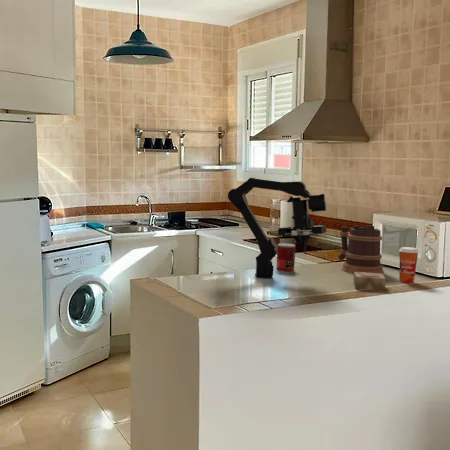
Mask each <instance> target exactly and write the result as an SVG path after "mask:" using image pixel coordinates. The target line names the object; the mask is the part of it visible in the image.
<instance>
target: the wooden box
mask: <svg viewBox="0 0 450 450" xmlns="http://www.w3.org/2000/svg"><path fill="white" fill-rule="evenodd" d="M352 282H353V283H352V284H353V287H354V289H356V290H366V289H372V290H371V291H383V292H385V291H386V282H387V280H386V277H385V275H384V273H383V274H379V273H365V272H354V273H353V281H352Z"/></svg>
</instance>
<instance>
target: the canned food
mask: <svg viewBox="0 0 450 450" xmlns="http://www.w3.org/2000/svg"><path fill="white" fill-rule="evenodd" d="M277 245H278V246H277V248H278V252H277V255H276V267H275V268H276V270H277V271H281V270H284V271H283V272H292V270H293V271H294V269H295V263H296V261H295V260H296V245H295V244H294V243H284V242H283V243H278V244H277Z"/></svg>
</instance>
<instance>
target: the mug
mask: <svg viewBox="0 0 450 450" xmlns="http://www.w3.org/2000/svg"><path fill="white" fill-rule="evenodd" d="M340 228H341V231H340V232H339V235H340V239H341V246H342V247H341V248H342V249H340V254H339V255H338V256H337V257H338V260H340V261H341V262H342V261H344V260H345V259H346V260H345V262H343V263H342V266H341V270H342V271H343V272H345V273H349V274H354V272H365V273H379V274H383V275H384V273H385V272H384V269H383V268H384V267H383V265H382V264H381V259H382V257H383V255H382V254H381V241H382V240H383V237H382V235H381V230H380V229H378V228H375V226H374V225H365V227H364V226H363V227H362V226H361V227H359V225H352V226H351V227H348V226H342V225H341V227H340ZM349 228H350V230H349ZM348 230H349V231H348Z"/></svg>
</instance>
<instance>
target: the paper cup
mask: <svg viewBox="0 0 450 450" xmlns="http://www.w3.org/2000/svg"><path fill="white" fill-rule="evenodd" d="M398 251H399V283H402V282H403V284H414V283H415V276H416V269H417V264H418V263H417V262H418V256H419V253H420V251H419V249H418V248H417V247H411V246H410V247H409V246H401V247H400V248H399V250H398Z"/></svg>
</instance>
